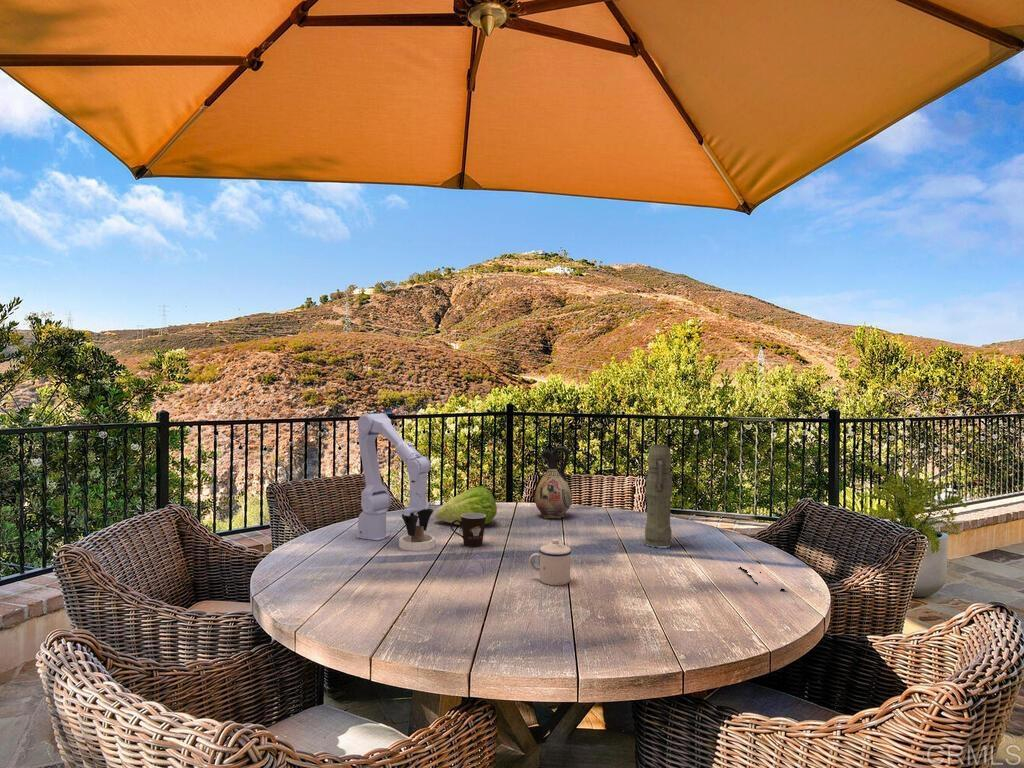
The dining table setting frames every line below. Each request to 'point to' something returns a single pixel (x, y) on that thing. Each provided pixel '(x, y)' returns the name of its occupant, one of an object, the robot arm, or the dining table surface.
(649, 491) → the carved stone statue
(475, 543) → the coffee mug
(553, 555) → the teacup with lid
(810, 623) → the dining table surface
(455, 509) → the chayote
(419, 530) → the brown wooden block
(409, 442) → the robot arm
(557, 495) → the ceramic jug
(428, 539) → the white shallow dish
